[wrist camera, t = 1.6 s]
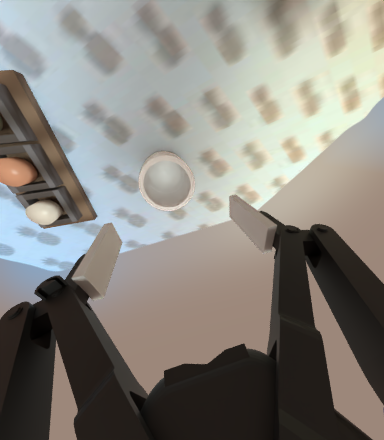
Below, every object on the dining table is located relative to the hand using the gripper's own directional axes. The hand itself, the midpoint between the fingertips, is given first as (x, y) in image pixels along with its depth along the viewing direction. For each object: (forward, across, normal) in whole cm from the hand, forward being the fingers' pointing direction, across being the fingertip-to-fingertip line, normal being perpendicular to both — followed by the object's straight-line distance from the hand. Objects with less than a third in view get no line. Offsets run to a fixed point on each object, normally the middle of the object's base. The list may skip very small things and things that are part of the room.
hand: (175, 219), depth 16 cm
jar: (+28, 0, 0) cm, 28 cm away
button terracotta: (+23, -28, +6) cm, 37 cm away
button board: (+27, -28, +6) cm, 40 cm away
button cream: (+22, -29, -3) cm, 36 cm away
